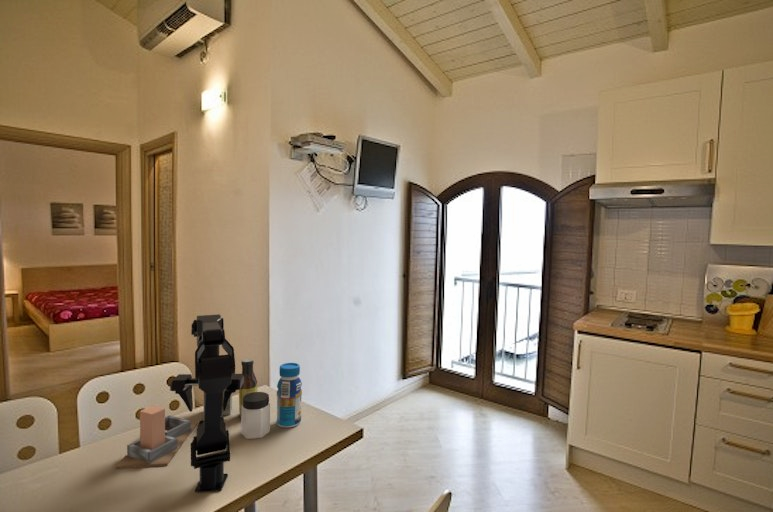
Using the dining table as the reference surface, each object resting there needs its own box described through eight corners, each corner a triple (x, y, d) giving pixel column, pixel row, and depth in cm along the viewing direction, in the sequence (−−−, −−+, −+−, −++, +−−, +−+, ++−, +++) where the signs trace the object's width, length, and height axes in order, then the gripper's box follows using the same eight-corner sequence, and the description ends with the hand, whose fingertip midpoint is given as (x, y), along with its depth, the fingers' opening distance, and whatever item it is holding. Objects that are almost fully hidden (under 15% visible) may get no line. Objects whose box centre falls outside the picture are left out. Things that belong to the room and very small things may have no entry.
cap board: (167, 465, 108) (167, 453, 108) (116, 468, 106) (116, 455, 106) (197, 424, 132) (197, 413, 132) (155, 425, 130) (155, 415, 130)
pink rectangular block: (165, 450, 114) (164, 408, 114) (152, 457, 111) (152, 414, 110) (153, 446, 116) (153, 405, 116) (140, 453, 113) (140, 410, 112)
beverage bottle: (272, 421, 135) (272, 364, 134) (294, 414, 140) (294, 360, 140) (283, 431, 129) (284, 371, 128) (306, 423, 134) (307, 366, 133)
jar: (273, 434, 126) (273, 398, 126) (248, 442, 121) (248, 404, 121) (262, 423, 133) (262, 389, 133) (238, 430, 128) (238, 395, 128)
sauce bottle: (261, 414, 140) (261, 359, 139) (247, 420, 135) (247, 364, 134) (249, 409, 144) (249, 356, 143) (234, 415, 138) (235, 360, 138)
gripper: (248, 349, 121) (247, 397, 122) (184, 349, 119) (183, 399, 120) (240, 361, 110) (239, 414, 112) (169, 362, 108) (169, 416, 109)
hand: (208, 410), depth 113 cm, fingers open, 9 cm apart
